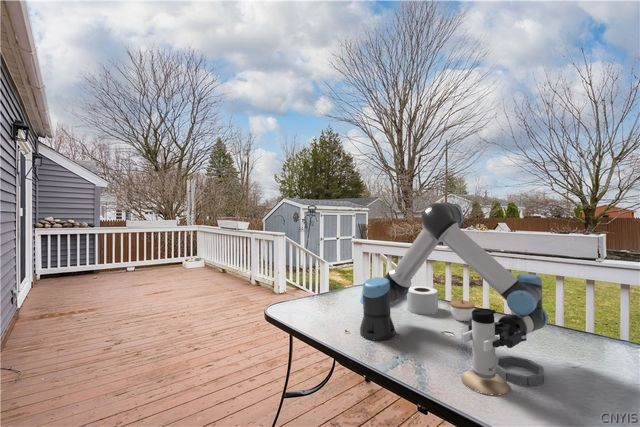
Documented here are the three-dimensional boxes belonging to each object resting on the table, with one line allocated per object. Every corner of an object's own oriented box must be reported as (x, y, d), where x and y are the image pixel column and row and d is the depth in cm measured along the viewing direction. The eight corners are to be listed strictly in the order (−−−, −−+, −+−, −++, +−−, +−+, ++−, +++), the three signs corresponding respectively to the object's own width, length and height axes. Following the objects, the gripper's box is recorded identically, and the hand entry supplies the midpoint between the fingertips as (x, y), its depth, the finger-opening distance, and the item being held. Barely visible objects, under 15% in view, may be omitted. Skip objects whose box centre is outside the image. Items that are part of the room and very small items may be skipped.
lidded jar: (446, 316, 155) (445, 297, 155) (466, 314, 156) (466, 296, 156) (457, 324, 144) (457, 304, 144) (479, 322, 145) (479, 302, 145)
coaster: (480, 398, 89) (480, 396, 89) (452, 374, 102) (452, 372, 102) (519, 391, 92) (519, 389, 92) (487, 369, 105) (487, 367, 105)
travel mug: (497, 381, 93) (496, 314, 92) (472, 376, 96) (471, 311, 95) (496, 370, 98) (495, 307, 98) (473, 366, 101) (471, 305, 101)
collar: (516, 388, 94) (516, 380, 94) (484, 365, 107) (484, 358, 107) (555, 382, 96) (554, 374, 96) (519, 360, 110) (519, 353, 109)
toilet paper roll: (440, 307, 168) (440, 287, 168) (434, 316, 155) (433, 295, 155) (411, 303, 177) (411, 284, 176) (403, 311, 163) (402, 291, 163)
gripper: (547, 346, 98) (506, 368, 86) (487, 327, 114) (446, 343, 102) (547, 322, 98) (505, 341, 86) (487, 307, 114) (445, 320, 102)
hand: (473, 342), depth 94 cm, fingers closed on travel mug, 6 cm apart
